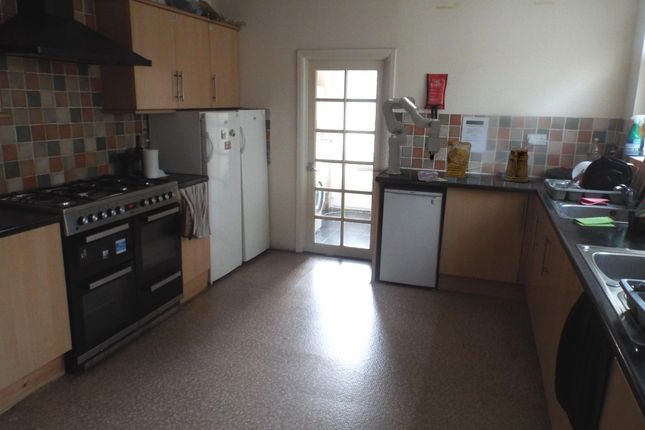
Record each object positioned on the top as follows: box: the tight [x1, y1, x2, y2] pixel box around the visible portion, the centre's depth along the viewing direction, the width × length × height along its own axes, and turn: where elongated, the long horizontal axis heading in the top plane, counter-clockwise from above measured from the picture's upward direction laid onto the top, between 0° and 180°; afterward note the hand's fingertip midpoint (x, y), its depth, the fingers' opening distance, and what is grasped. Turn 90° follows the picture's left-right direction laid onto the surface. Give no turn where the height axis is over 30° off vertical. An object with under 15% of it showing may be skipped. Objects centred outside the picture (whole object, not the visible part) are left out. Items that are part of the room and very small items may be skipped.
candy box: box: [417, 169, 439, 182], centre depth 366 cm, size 14×6×16 cm
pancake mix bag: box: [445, 140, 472, 179], centre depth 381 cm, size 7×19×28 cm, turn 53°
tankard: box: [503, 147, 530, 183], centre depth 368 cm, size 18×24×25 cm
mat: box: [418, 176, 449, 183], centre depth 367 cm, size 14×18×1 cm
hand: (431, 159), depth 367 cm, fingers closed
